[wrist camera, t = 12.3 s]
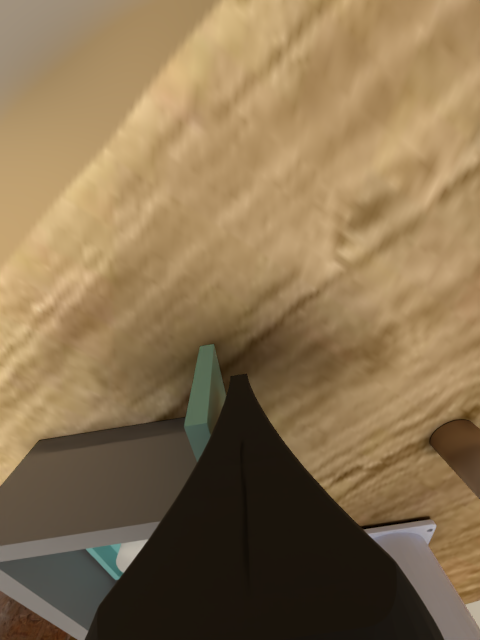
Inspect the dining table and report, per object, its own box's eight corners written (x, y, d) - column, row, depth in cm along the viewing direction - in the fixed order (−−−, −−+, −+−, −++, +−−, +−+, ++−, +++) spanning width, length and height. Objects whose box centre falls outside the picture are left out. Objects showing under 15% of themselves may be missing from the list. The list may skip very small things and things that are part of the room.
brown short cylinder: (467, 446, 16) (526, 502, 13) (426, 452, 16) (475, 510, 13) (480, 416, 15) (549, 470, 12) (435, 423, 15) (492, 479, 12)
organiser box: (215, 412, 13) (210, 513, 9) (246, 524, 19) (252, 621, 14) (38, 440, 13) (-57, 554, 9) (120, 543, 19) (88, 646, 14)
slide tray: (213, 343, 11) (206, 423, 7) (257, 528, 18) (266, 619, 14) (7, 377, 11) (-127, 475, 7) (135, 547, 19) (109, 642, 14)
